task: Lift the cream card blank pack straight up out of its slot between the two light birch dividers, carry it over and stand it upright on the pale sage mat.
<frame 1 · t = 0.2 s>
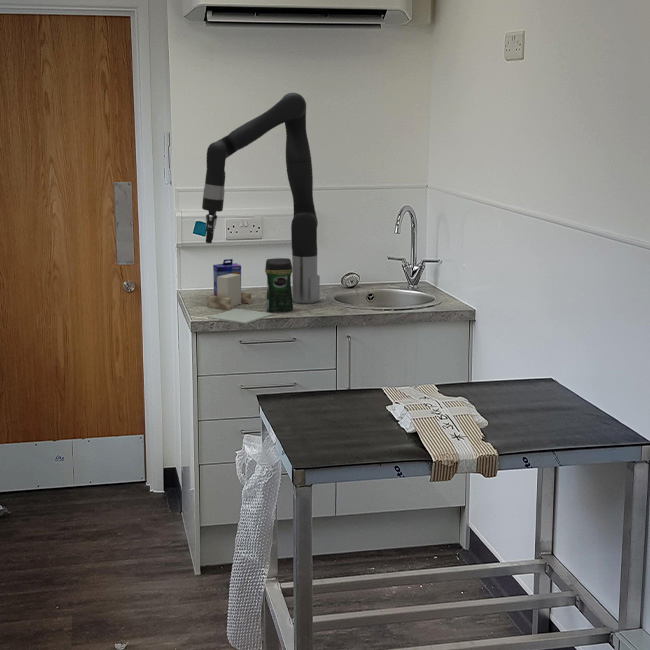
hand: (209, 241, 347), 22 cm above the kitchen counter, tool pointing down, fingers open, 8 cm apart
ink cartridge box: (227, 296, 361), on the kitchen counter
sage mat: (240, 316, 326), on the kitchen counter
coffee jar: (279, 310, 336), on the kitchen counter
blank pack: (229, 305, 344), on the kitchen counter
divider rack: (229, 305, 344), on the kitchen counter
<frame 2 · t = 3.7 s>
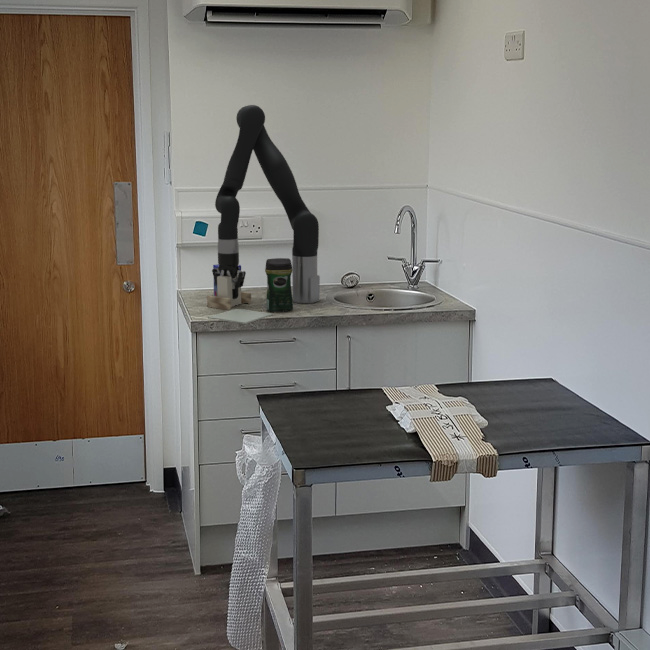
hand: (229, 297, 344), 3 cm above the kitchen counter, tool pointing down, fingers closed on blank pack, 4 cm apart
blank pack: (229, 305, 344), on the kitchen counter, touching gripper
everything else where it was.
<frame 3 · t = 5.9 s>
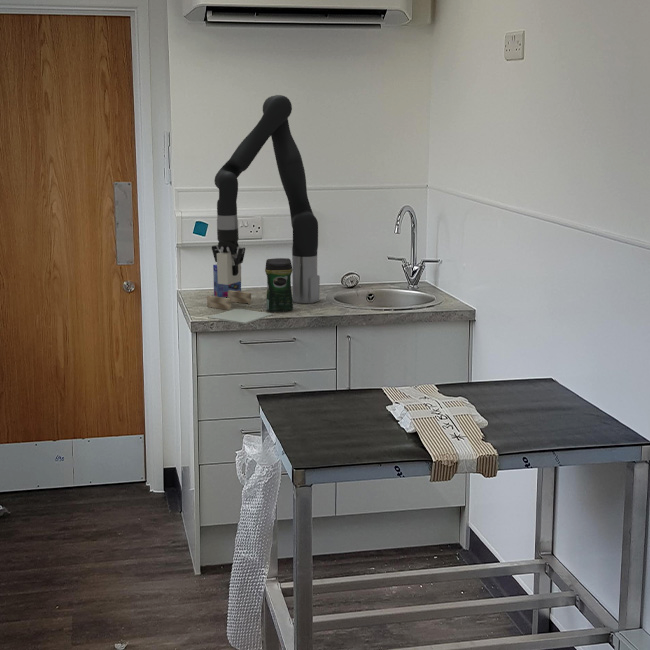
hand: (229, 274, 342), 11 cm above the kitchen counter, tool pointing down, fingers closed on blank pack, 4 cm apart
blank pack: (229, 282, 342), point 8 cm above the kitchen counter, touching gripper
everything else where it was.
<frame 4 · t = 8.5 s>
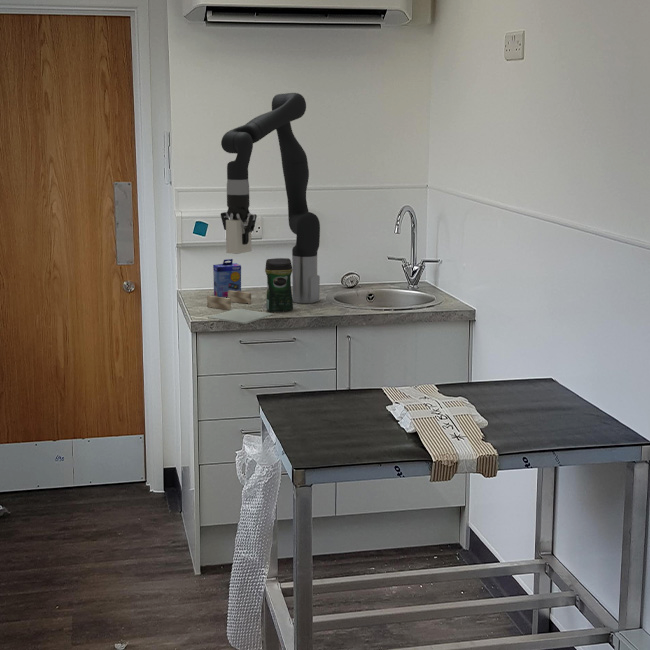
hand: (238, 243, 320), 25 cm above the kitchen counter, tool pointing down, fingers closed on blank pack, 4 cm apart
blank pack: (239, 252, 321), point 22 cm above the kitchen counter, touching gripper
everything else where it was.
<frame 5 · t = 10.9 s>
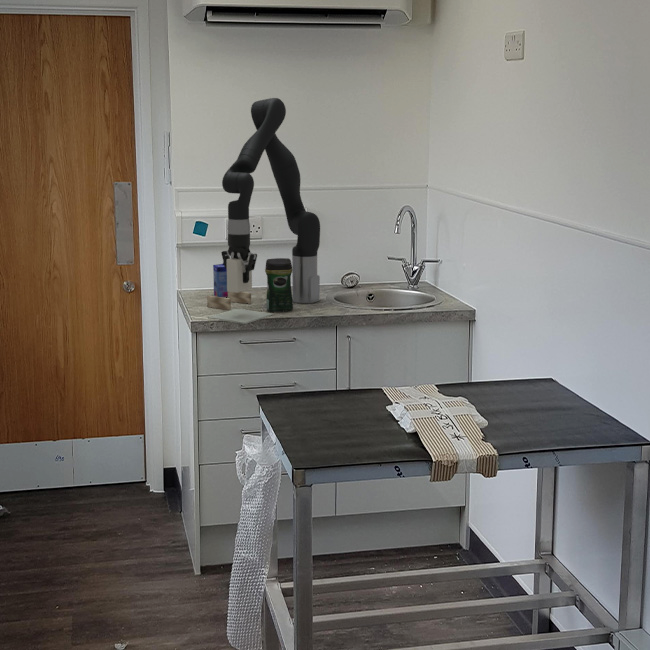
hand: (239, 281, 323), 12 cm above the kitchen counter, tool pointing down, fingers closed on blank pack, 4 cm apart
blank pack: (239, 290, 324), point 9 cm above the kitchen counter, touching gripper
everything else where it was.
when the fingers open (5 cm above the kitchen counter, at t = 13.2 s): blank pack drops 1 cm, resting on sage mat.
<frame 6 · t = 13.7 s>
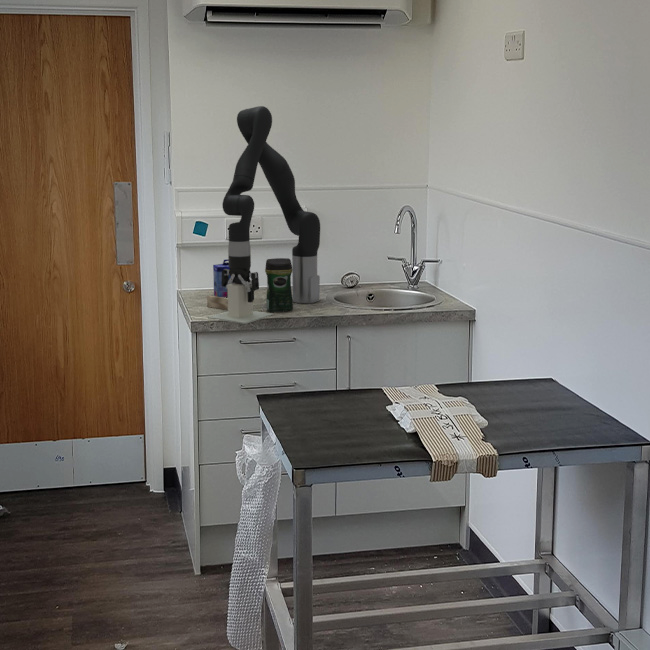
hand: (240, 300, 324), 6 cm above the kitchen counter, tool pointing down, fingers open, 8 cm apart
blank pack: (240, 315, 326), resting on sage mat
everything else where it was.
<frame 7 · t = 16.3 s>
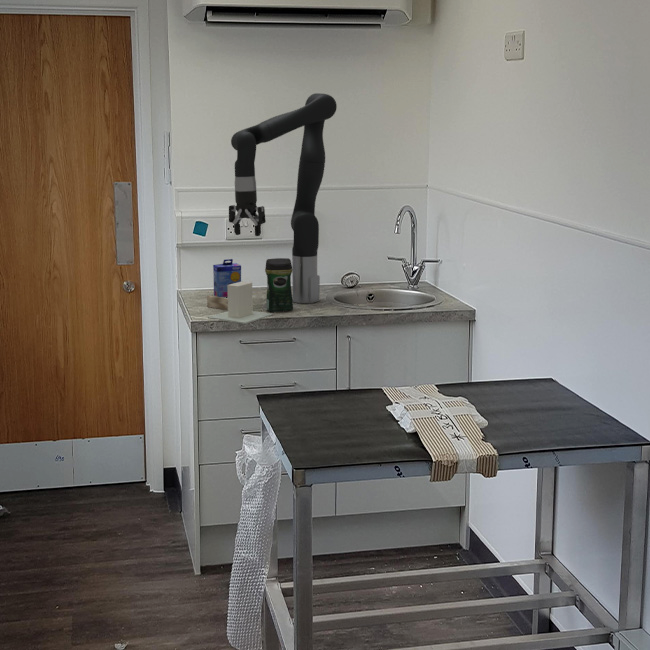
hand: (247, 235, 336), 26 cm above the kitchen counter, tool pointing down, fingers open, 8 cm apart
nothing on the kitchen counter moved.
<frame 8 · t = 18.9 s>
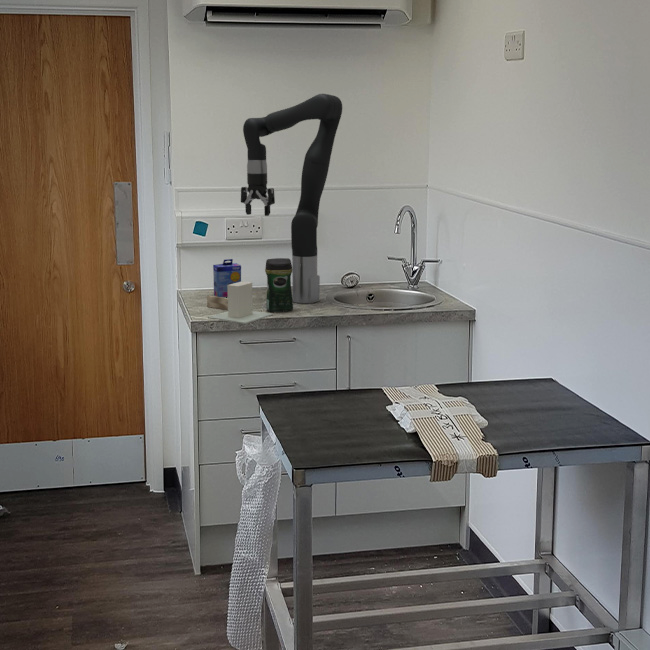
hand: (257, 215, 361), 30 cm above the kitchen counter, tool pointing down, fingers open, 8 cm apart
nothing on the kitchen counter moved.
at the end: blank pack inside the target area on the sage mat (0.1 cm from its centre), point 0.5 cm above the sage mat's base; blank pack tilted 0°; the gripper is holding nothing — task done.
